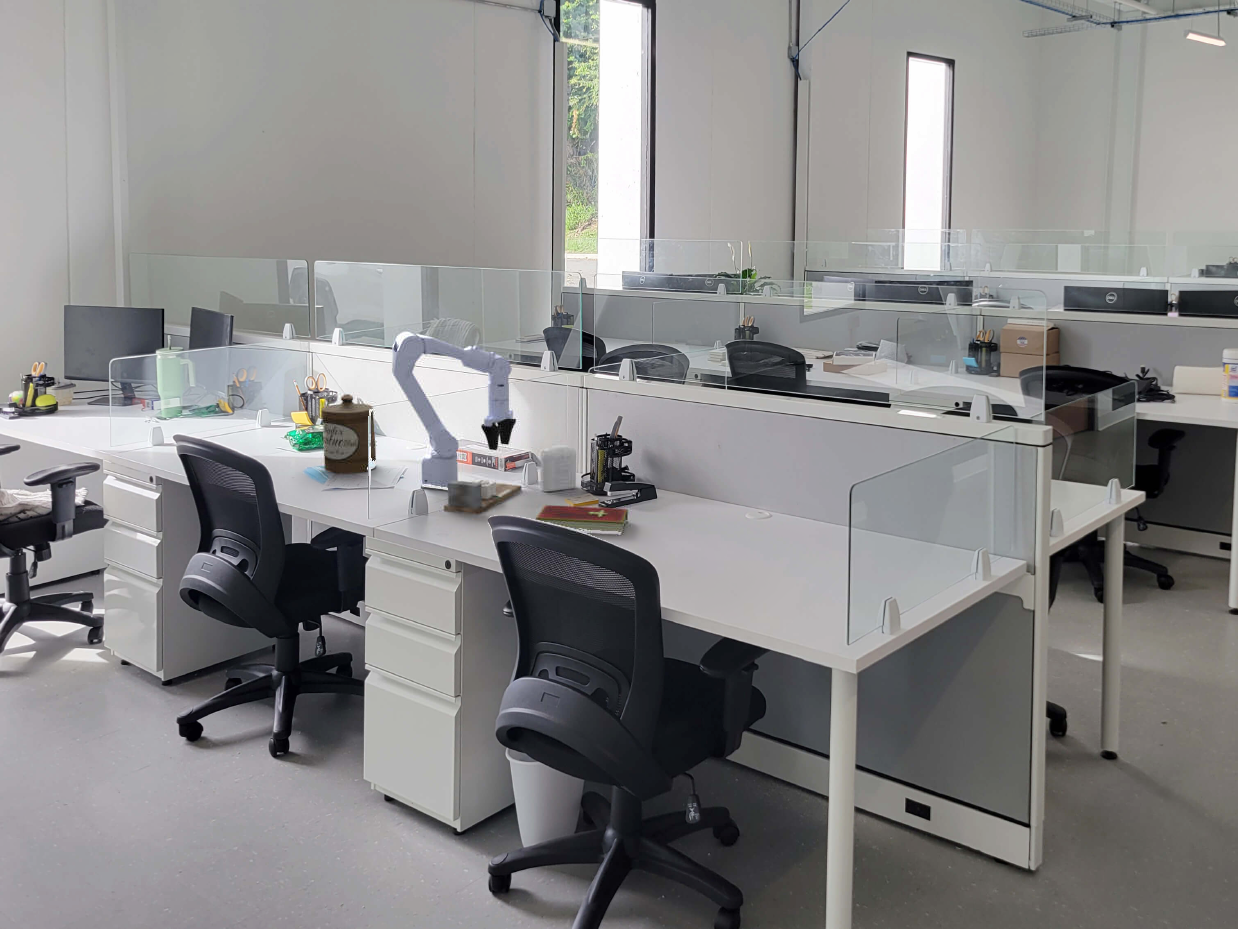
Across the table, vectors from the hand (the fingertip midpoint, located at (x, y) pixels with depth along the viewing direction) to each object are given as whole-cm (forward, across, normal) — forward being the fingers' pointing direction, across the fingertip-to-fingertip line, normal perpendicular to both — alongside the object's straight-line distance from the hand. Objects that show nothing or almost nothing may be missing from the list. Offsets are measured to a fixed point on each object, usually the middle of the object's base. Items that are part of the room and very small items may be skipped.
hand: (499, 446), depth 303 cm
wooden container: (+11, -1, +48) cm, 49 cm away
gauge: (+9, -21, -5) cm, 23 cm away
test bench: (+10, -18, -4) cm, 21 cm away
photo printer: (+11, 0, -18) cm, 21 cm away
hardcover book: (+11, -31, -37) cm, 50 cm away
